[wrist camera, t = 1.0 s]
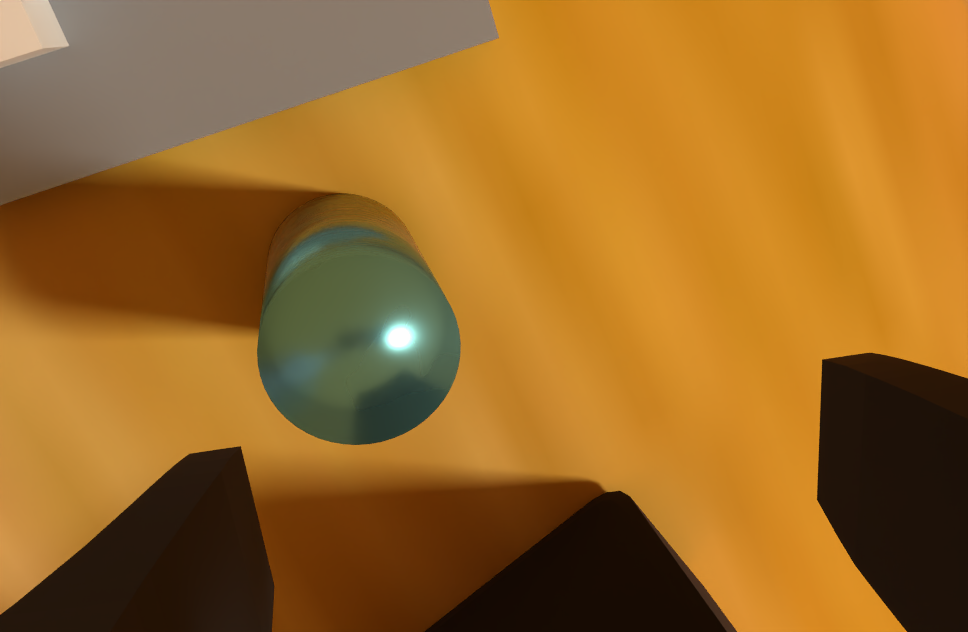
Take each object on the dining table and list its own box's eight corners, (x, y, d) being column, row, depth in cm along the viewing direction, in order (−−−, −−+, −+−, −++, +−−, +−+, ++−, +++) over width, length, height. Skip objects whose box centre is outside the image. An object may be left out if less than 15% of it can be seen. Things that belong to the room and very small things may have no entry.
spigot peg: (299, 358, 22) (301, 472, 16) (243, 223, 21) (224, 297, 15) (436, 308, 22) (485, 403, 17) (389, 172, 21) (423, 226, 15)
